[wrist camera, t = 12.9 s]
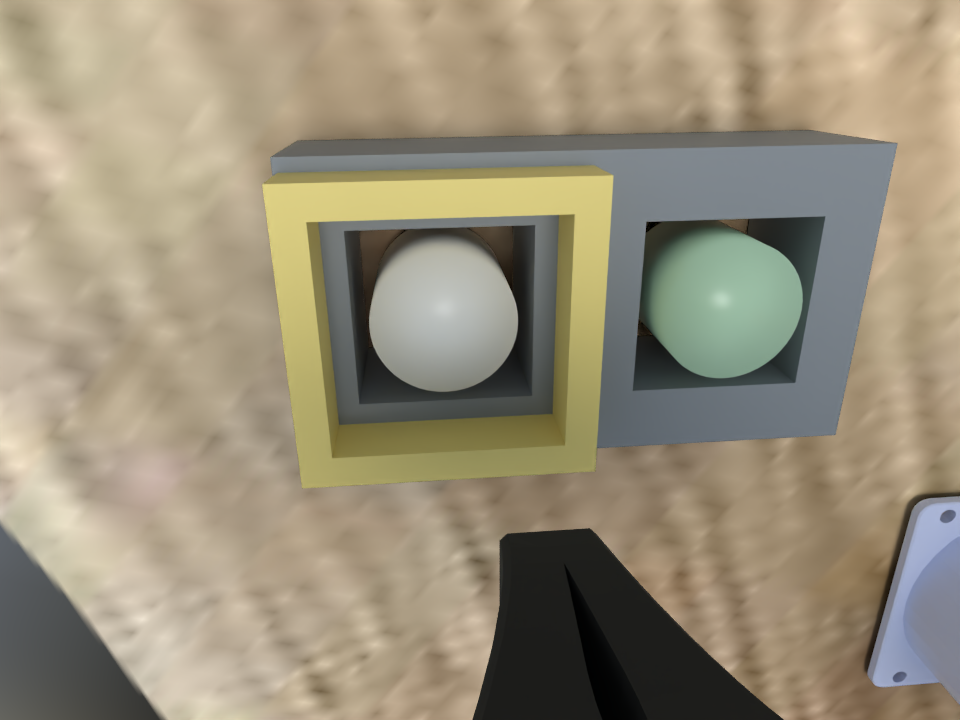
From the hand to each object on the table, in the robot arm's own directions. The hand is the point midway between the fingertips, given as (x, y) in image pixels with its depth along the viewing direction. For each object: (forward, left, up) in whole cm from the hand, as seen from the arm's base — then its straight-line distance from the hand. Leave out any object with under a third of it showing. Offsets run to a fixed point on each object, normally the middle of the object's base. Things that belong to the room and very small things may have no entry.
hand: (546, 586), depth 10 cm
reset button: (+1, -2, -9) cm, 9 cm away
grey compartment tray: (-2, -2, -10) cm, 10 cm away
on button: (-5, -2, -9) cm, 11 cm away
